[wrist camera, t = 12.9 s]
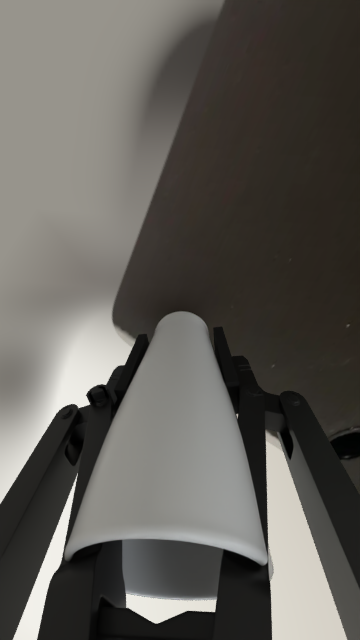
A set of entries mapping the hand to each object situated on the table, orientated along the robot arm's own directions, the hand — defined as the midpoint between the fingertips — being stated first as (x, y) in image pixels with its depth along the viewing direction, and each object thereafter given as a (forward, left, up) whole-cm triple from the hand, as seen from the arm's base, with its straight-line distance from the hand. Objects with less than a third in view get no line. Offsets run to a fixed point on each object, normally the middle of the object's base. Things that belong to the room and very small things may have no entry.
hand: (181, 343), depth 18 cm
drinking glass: (0, 0, -2) cm, 2 cm away
